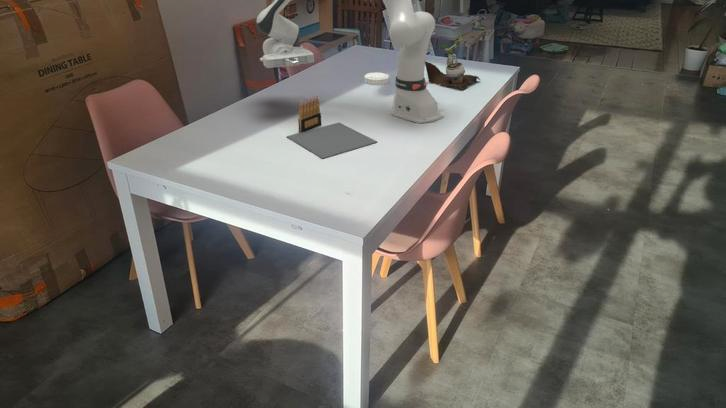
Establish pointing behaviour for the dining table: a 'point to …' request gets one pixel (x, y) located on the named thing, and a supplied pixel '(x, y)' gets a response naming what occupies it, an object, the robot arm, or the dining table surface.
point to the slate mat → (331, 140)
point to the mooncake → (376, 78)
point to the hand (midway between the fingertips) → (295, 64)
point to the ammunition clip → (309, 115)
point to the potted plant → (450, 71)
